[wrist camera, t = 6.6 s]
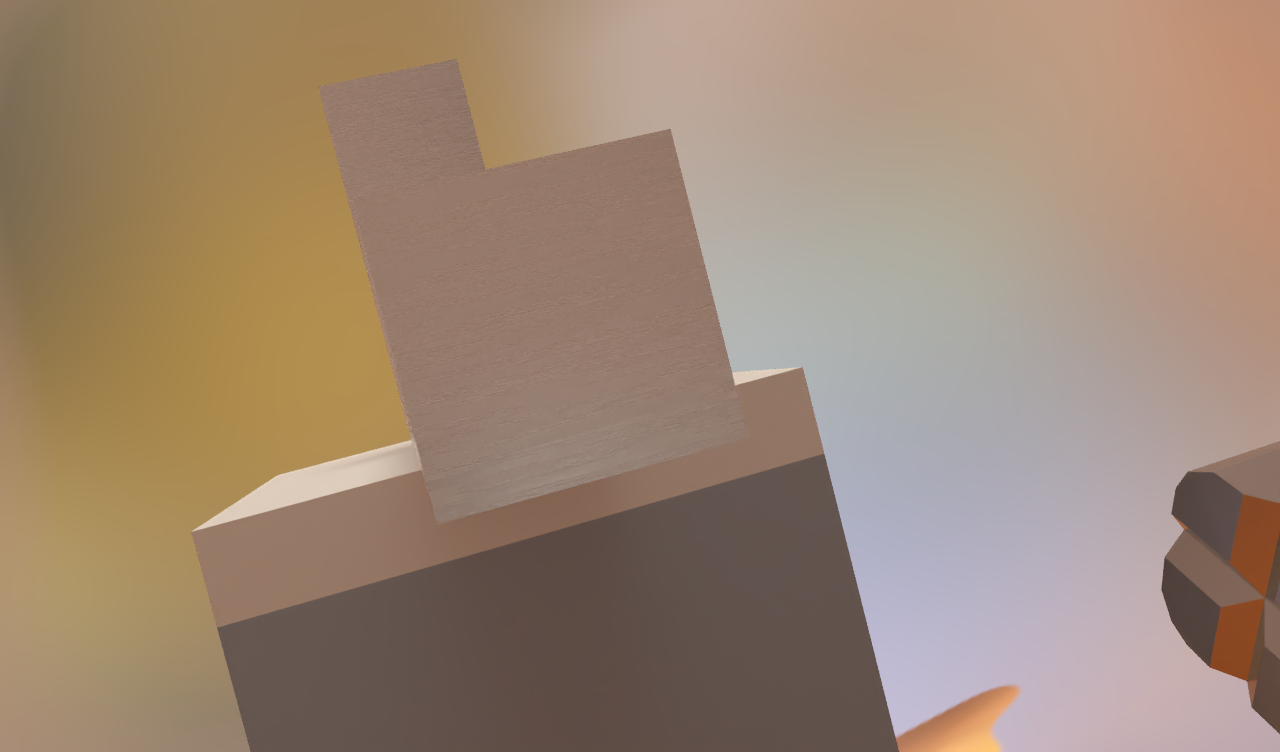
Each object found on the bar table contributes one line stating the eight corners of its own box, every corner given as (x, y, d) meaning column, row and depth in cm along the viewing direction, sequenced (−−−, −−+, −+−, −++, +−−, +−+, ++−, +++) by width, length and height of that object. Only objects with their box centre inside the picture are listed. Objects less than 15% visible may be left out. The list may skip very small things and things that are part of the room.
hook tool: (533, 412, 29) (450, 93, 28) (748, 438, 11) (537, -398, 11) (412, 444, 28) (326, 119, 28) (438, 524, 11) (205, -360, 10)
